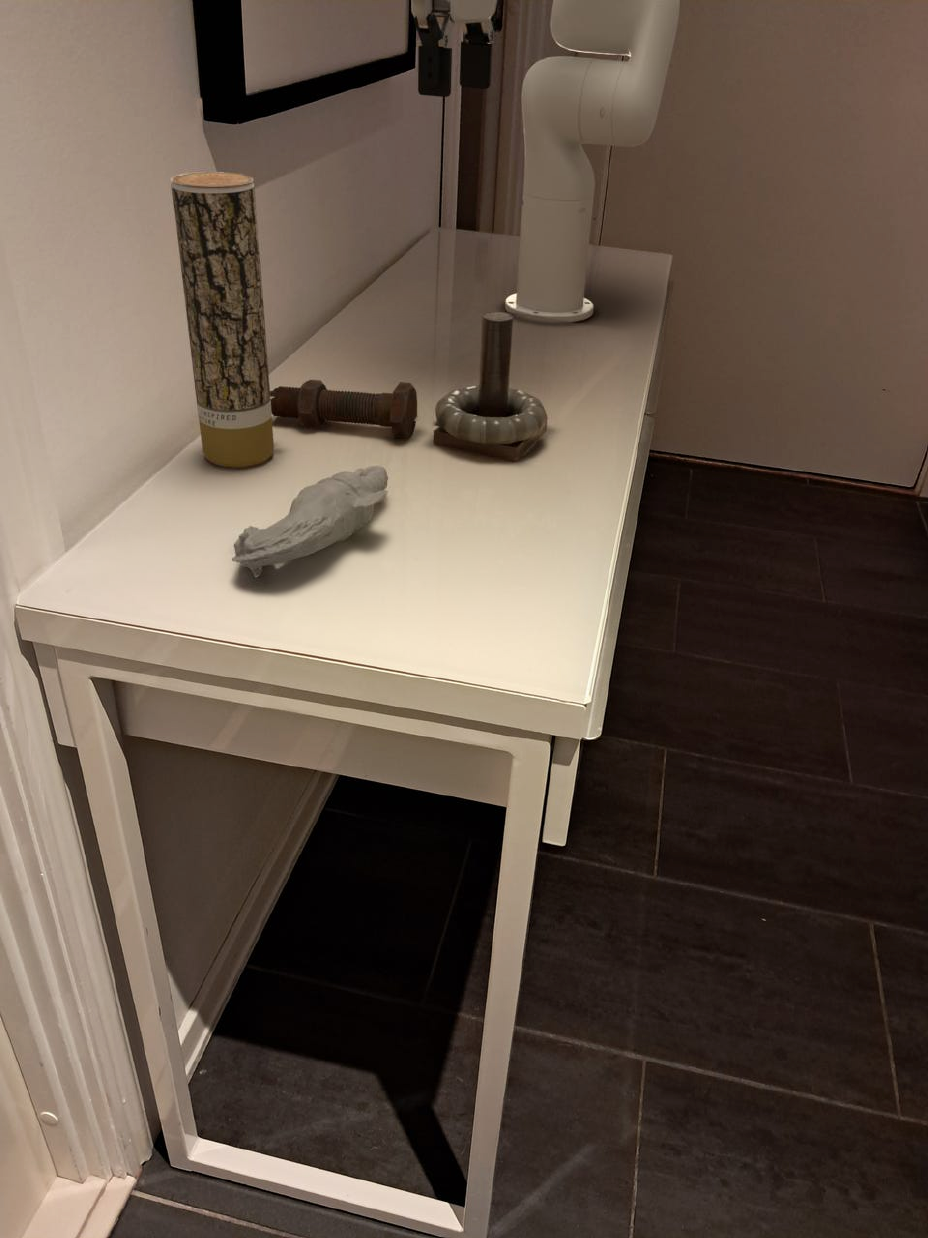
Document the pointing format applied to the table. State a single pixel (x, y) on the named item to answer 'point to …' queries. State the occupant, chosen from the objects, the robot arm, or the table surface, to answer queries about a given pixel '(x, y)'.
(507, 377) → the post
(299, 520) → the grey figurine
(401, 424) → the bolt
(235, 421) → the paper tube
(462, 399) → the bracelet
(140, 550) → the table surface
